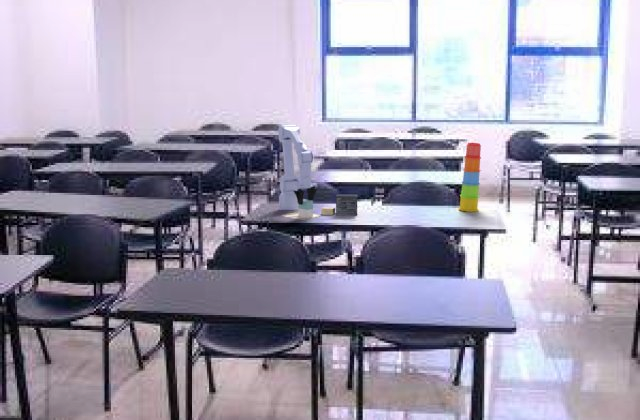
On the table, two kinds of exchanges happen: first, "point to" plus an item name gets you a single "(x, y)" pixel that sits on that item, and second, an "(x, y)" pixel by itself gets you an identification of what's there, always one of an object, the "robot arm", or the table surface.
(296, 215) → the building board
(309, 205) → the teal brick
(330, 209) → the mustard brick
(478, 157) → the stacking cups
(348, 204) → the small box
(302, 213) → the white brick
